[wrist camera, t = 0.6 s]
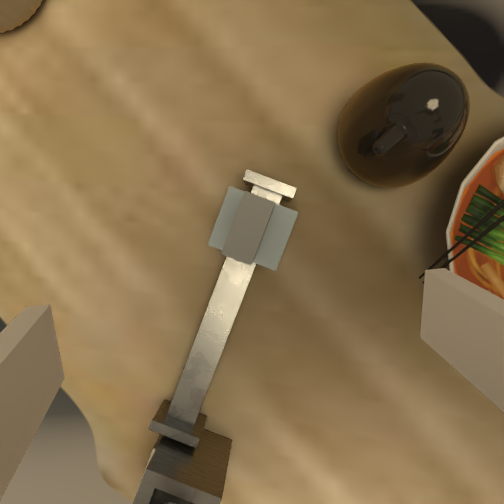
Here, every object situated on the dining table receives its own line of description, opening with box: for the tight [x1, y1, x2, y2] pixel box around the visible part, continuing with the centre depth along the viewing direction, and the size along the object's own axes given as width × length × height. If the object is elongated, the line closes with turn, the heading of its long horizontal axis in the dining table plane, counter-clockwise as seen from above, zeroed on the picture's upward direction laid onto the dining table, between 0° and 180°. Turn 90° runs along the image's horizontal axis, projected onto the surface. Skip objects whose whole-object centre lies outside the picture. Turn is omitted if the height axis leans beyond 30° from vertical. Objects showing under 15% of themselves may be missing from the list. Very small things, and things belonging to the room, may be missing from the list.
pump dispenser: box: [337, 63, 470, 188], centre depth 36 cm, size 10×10×15 cm
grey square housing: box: [133, 429, 232, 504], centre depth 41 cm, size 7×7×10 cm
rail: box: [149, 169, 297, 448], centre depth 42 cm, size 5×27×5 cm, turn 159°
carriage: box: [208, 186, 299, 271], centre depth 37 cm, size 7×6×14 cm
